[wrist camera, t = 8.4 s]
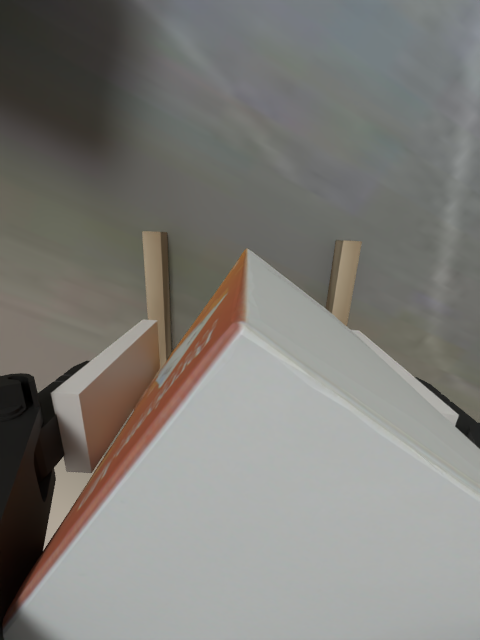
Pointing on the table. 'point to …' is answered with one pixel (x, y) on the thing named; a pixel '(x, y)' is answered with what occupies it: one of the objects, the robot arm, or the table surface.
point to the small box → (268, 495)
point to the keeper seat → (159, 286)
